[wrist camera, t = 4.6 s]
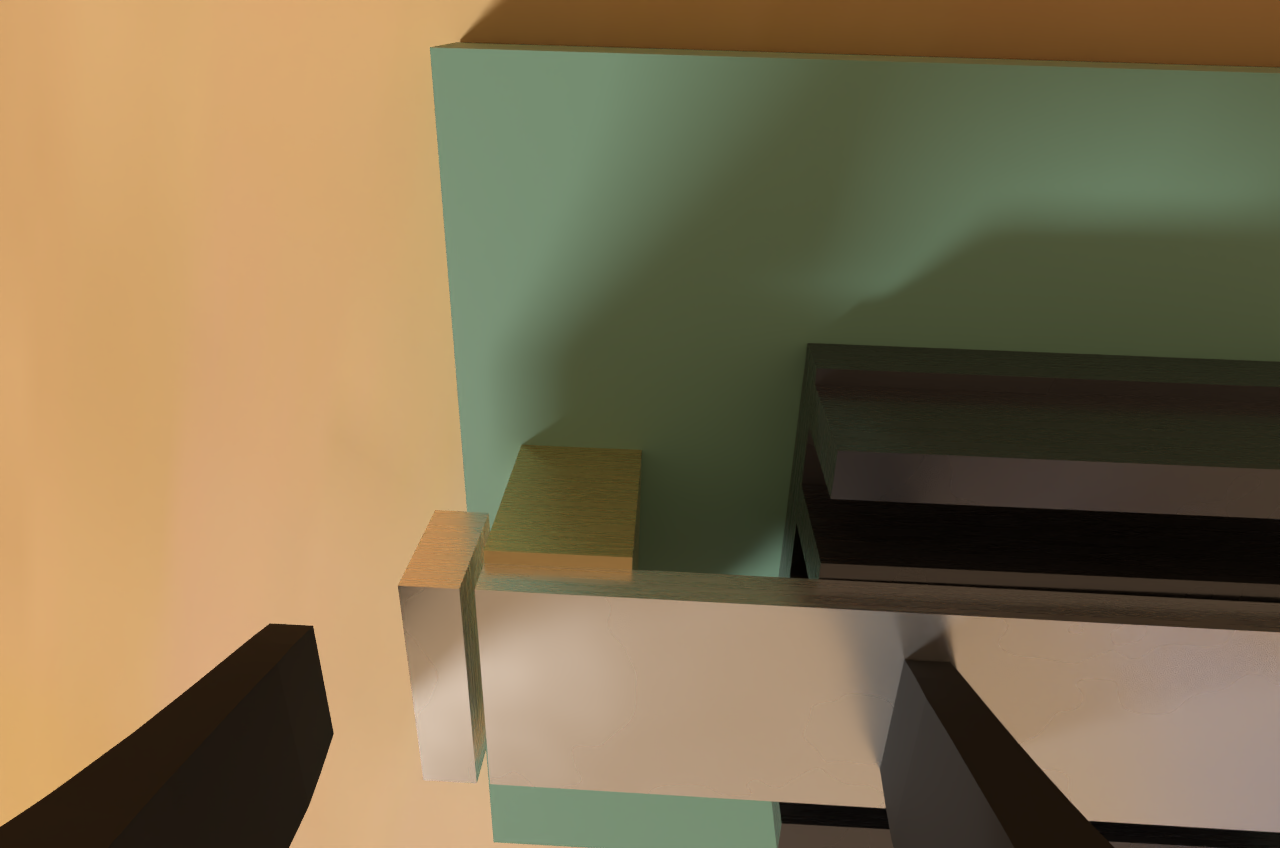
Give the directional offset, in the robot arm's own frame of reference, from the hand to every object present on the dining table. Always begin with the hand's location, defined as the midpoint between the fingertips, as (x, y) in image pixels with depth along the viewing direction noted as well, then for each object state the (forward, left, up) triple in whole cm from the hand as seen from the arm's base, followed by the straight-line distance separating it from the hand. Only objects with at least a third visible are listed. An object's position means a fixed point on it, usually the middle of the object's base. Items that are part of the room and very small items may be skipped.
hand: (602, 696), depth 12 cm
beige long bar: (-5, 0, -2) cm, 6 cm away
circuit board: (-6, 0, -5) cm, 8 cm away
